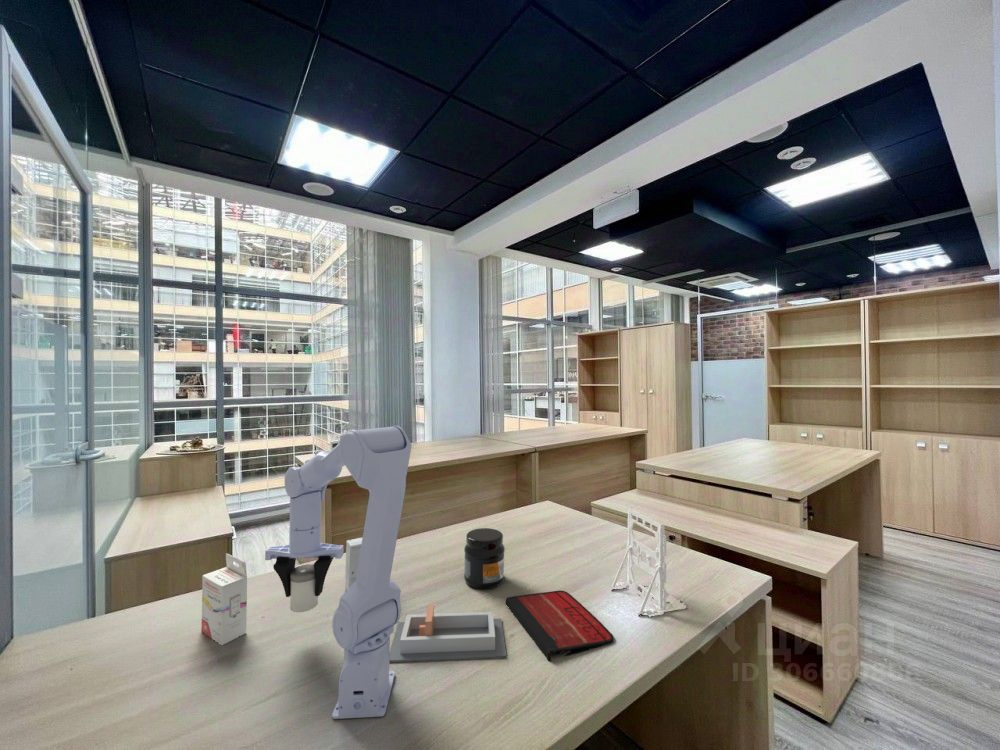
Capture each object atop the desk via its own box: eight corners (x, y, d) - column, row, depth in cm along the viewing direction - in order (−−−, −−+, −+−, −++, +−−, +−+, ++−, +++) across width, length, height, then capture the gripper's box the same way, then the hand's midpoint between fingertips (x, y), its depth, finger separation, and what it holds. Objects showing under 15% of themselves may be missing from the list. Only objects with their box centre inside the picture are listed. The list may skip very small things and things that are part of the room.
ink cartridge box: (199, 632, 84) (200, 560, 84) (225, 620, 88) (227, 551, 88) (220, 647, 79) (222, 570, 80) (247, 633, 84) (248, 561, 84)
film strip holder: (693, 610, 94) (693, 522, 94) (641, 619, 90) (641, 528, 90) (653, 580, 108) (653, 504, 108) (606, 587, 104) (606, 508, 104)
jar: (312, 612, 80) (313, 575, 80) (284, 613, 79) (285, 576, 79) (322, 597, 85) (322, 563, 85) (296, 598, 84) (296, 564, 85)
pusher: (431, 647, 79) (431, 621, 79) (417, 648, 79) (417, 621, 79) (433, 628, 85) (434, 604, 85) (421, 629, 85) (421, 604, 85)
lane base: (506, 657, 77) (506, 642, 77) (387, 662, 75) (387, 646, 75) (501, 620, 89) (501, 606, 89) (398, 623, 87) (398, 610, 87)
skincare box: (348, 597, 98) (349, 546, 98) (344, 589, 101) (345, 540, 102) (374, 590, 101) (375, 541, 101) (369, 582, 105) (370, 535, 105)
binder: (548, 651, 76) (505, 596, 96) (548, 664, 76) (504, 606, 96) (619, 635, 82) (564, 587, 102) (618, 647, 82) (564, 596, 102)
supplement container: (511, 585, 104) (511, 538, 104) (472, 594, 100) (473, 545, 100) (494, 568, 114) (494, 525, 114) (458, 575, 109) (458, 530, 109)
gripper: (348, 518, 87) (347, 583, 87) (277, 519, 86) (276, 585, 86) (337, 530, 80) (336, 600, 80) (260, 532, 79) (258, 603, 78)
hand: (304, 594), depth 82 cm, fingers closed on jar, 5 cm apart
